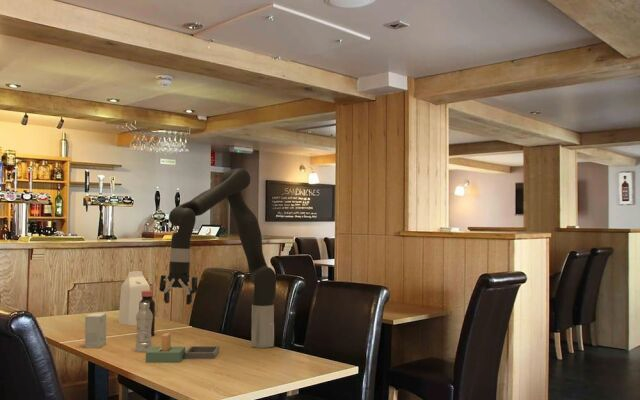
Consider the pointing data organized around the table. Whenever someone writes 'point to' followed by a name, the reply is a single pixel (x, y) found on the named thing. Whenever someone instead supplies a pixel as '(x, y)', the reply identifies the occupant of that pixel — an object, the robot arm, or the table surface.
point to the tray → (190, 355)
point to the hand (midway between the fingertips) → (177, 303)
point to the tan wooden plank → (166, 342)
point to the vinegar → (148, 298)
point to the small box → (95, 330)
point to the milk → (131, 297)
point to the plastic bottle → (144, 328)
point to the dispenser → (165, 355)
